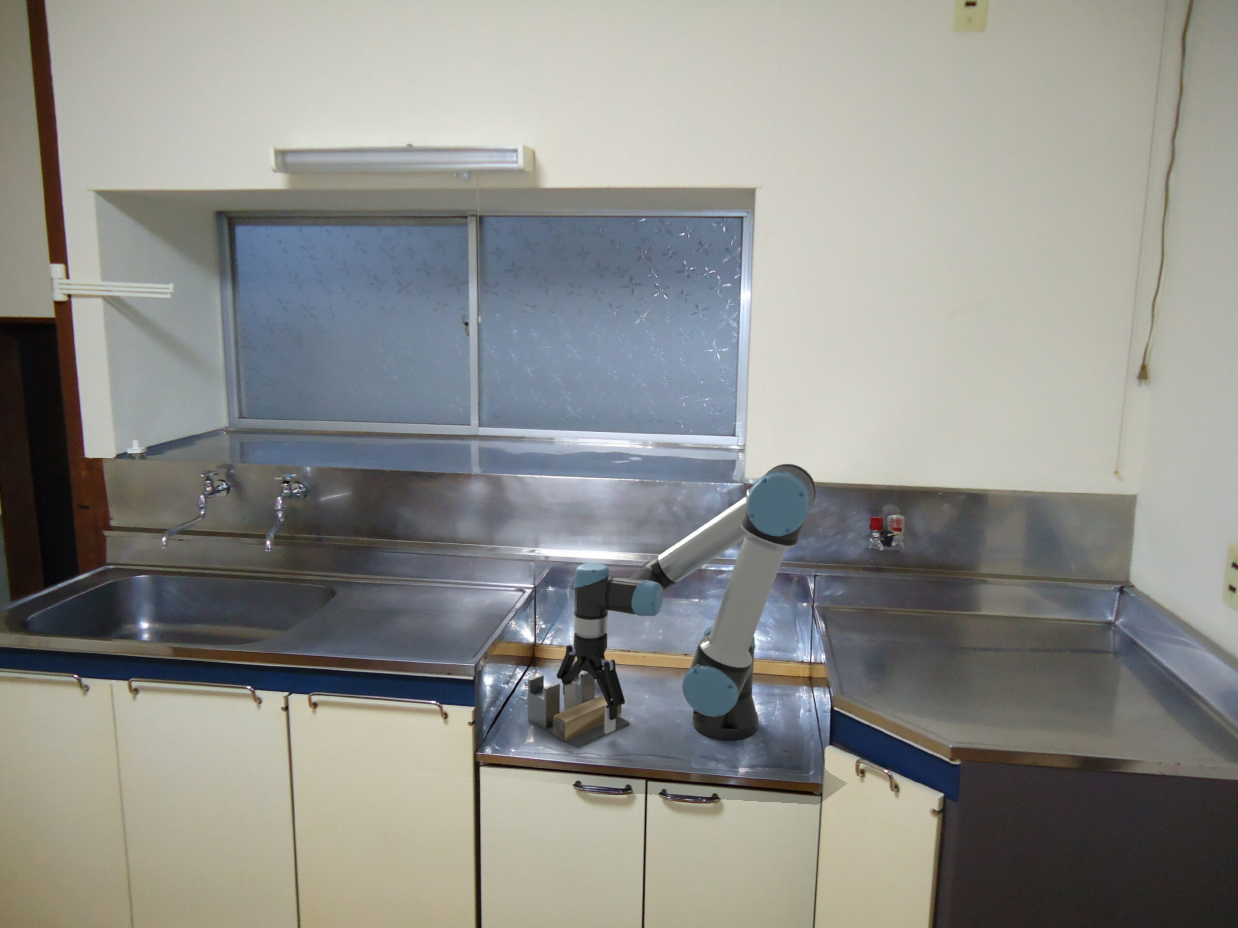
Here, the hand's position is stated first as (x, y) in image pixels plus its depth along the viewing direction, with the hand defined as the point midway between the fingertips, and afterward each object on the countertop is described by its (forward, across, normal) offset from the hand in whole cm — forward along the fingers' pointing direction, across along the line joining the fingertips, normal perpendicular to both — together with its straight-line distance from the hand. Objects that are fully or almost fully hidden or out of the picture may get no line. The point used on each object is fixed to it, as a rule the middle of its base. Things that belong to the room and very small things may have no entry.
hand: (589, 720), depth 185 cm
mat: (+2, 0, 0) cm, 2 cm away
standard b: (+2, +9, +6) cm, 11 cm away
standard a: (+2, +9, -5) cm, 10 cm away
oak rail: (+1, 0, 0) cm, 1 cm away
